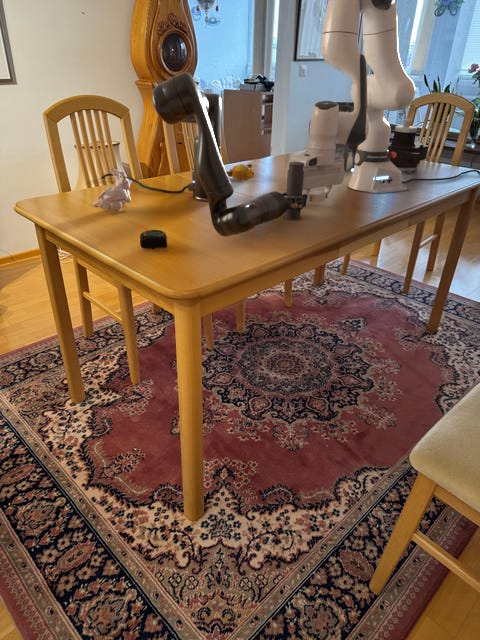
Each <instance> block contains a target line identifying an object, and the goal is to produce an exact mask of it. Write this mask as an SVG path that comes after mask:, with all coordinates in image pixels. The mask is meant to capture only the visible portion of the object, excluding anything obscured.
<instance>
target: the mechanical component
mask: <svg viewBox="0 0 480 640" xmlns="http://www.w3.org/2000/svg"><path fill="white" fill-rule="evenodd" d="M411 122H412V121H411V119H403V125H401V124H400V125H395V126H394V132H393V136H392V142H389V145H388V151H390V152H395V154H397V156H396V157H395V158H392V157H390V161H391V162H392V163H393V164H394V165H395V166H396V167H397V168H398V169H399V170H400V171H401V172H407V173H408V174H412V171H415V170H416V169H417V168H419V167H420V166H421V161H423V160H426V159H427V157H428V156H427V155H428V153H429V146H430V145H427V144H424V143H423V142H419V141H416V135H417V132H418V127H417V126H414V125H411Z"/></svg>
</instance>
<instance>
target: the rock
mask: <svg viewBox="0 0 480 640" xmlns="http://www.w3.org/2000/svg"><path fill="white" fill-rule="evenodd" d="M335 153H338V154H342V147H340V148H338V149H336V150H335ZM348 153H351V151H350V150H349V152H348Z"/></svg>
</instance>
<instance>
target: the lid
mask: <svg viewBox="0 0 480 640" xmlns="http://www.w3.org/2000/svg"><path fill="white" fill-rule="evenodd" d="M309 194H310V196H312V201H310V202H311V203H317V204H318V203H324V202H326V200H327V199H326V193H325V192H324V190H323V191H322V190H310V192H309Z"/></svg>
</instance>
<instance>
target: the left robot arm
mask: <svg viewBox="0 0 480 640" xmlns="http://www.w3.org/2000/svg"><path fill="white" fill-rule="evenodd" d="M152 89H153V90H152V92H151V103H152V106H153V109H154V111H155V112H156V114H157V116H158V117H159V118H160V119H161V121H163V122H164V123H166V124H167V125H170V126H172V125H177V124H179V123H185V124H194V125H196V126H197V131H198V135H196V136H195V137H194V138H193V142H192V143H193V145H192V146H193V169H192V170H191V179H192V182H191V183H187V185H185V186H183V187H182V189H180V190H168V189H164V188H163V189H162V188H157V187H151V186H148V185H145V184H143V183H141V182H140V181H139V180H138V179H135V178H132V177H129V176H125V177H126V178H127V179H128V180H131V181H132V182H135V183H136V184H138V185H139V186H140V187H142V188H144V189H147V190H149V191H154V192H161V193H166V194H181V193H184V192H185V190H186V189H187V190H188V192H192V198H195V199H196V200H198V201H201V202H207V203H208V207H209V213H210V218H211V224H212V226H213V229H214V230H215V232H216V233H218V235H219V236H220V237H225V238H228V237H231V236H235V235H239V234H243V233H246V232H248V231H251V230H252V229H254V228H255V227H257V226H259V225H262V224H264V223H265V224H266V223H268V222H271V221H273V220H277V219H278V218H281V217H283V216H285V212H286V210H288V209H292V208H297V210H298V211H301V212H302V210H303V209H305V208H306V206H307V202H306V201H307V198H308V196H307V194H304V193H302V195H301V196H294V195H293V196H286V191H285V192H283V191H281V192H279V191H276V190H275V191H271V192H267V193H263V194H262V195H260V196H257V197H256V198H253V199H251V200H248V201H246V202H244V203H240V204H236V205H234V206H231V207H228V203H227V200H228V199H229V198H230V197H232V195H233V194H234V192H235V191H234V186H233V184H232V182H231V179H230V176H228V174H227V170H226V167H225V164H224V162H223V160H222V117H223V116H222V115H223V100H222V98H221V95H220V94H218V93H206V92H203V91H202V90H200V88H199V86H198V84H197V82H196V80H195V79H194V76H192V74H191V73H190V72H188V71H183V72H180V73H178V74H176V75H174V76H172V77H170V78H168V79H166V80H163V81H162V82H160V83H158V84H157V85H156V86H155V87H154V88H152ZM106 177H114V176H113V175H112V173H105V174H103V175H102V176H101V179H105V178H106ZM120 178H122V177H121V175H120ZM297 199H298V201H297Z"/></svg>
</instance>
